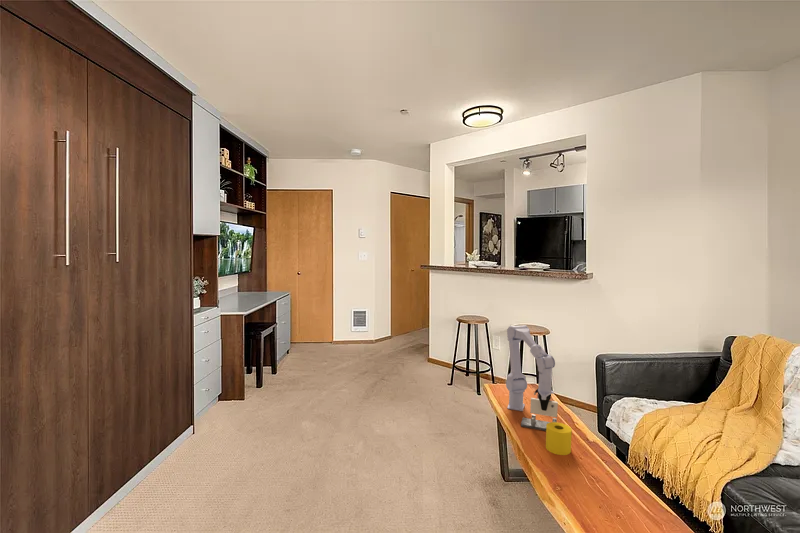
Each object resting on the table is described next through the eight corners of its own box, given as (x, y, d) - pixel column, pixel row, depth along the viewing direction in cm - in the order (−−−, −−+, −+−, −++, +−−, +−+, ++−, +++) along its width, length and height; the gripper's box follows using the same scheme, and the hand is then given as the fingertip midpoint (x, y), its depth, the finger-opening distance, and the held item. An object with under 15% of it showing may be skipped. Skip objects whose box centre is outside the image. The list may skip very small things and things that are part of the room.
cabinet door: (530, 411, 194) (531, 397, 193) (557, 416, 189) (557, 401, 189) (530, 413, 192) (530, 399, 191) (557, 418, 187) (557, 403, 187)
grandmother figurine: (532, 405, 216) (533, 382, 215) (533, 403, 219) (534, 380, 219) (548, 408, 213) (549, 384, 212) (548, 405, 217) (549, 382, 216)
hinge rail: (522, 419, 199) (522, 411, 198) (566, 427, 191) (566, 418, 191) (520, 426, 191) (521, 417, 191) (566, 434, 184) (566, 425, 183)
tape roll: (550, 454, 166) (550, 432, 166) (542, 442, 176) (543, 421, 176) (574, 455, 166) (575, 433, 165) (565, 443, 176) (566, 422, 175)
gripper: (553, 387, 182) (552, 416, 182) (554, 377, 195) (553, 405, 196) (537, 385, 184) (536, 414, 185) (539, 375, 198) (538, 402, 198)
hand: (544, 409), depth 191 cm, fingers closed on cabinet door, 1 cm apart
